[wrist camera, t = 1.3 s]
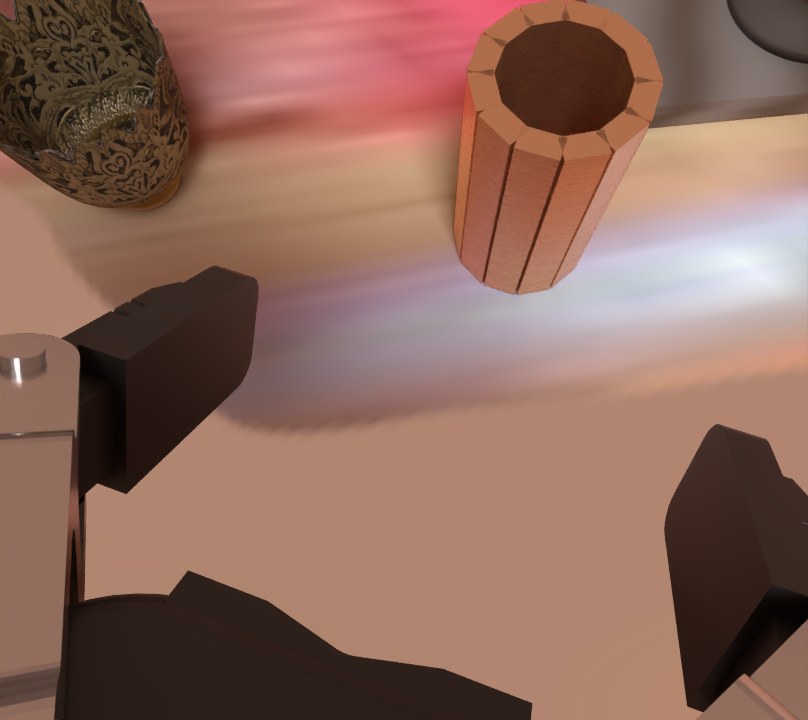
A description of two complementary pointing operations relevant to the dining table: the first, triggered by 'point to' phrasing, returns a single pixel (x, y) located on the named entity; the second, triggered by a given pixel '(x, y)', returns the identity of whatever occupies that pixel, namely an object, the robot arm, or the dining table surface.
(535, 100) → the copper collar
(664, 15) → the shaft stand
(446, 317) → the dining table surface
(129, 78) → the bronze rounded piece
